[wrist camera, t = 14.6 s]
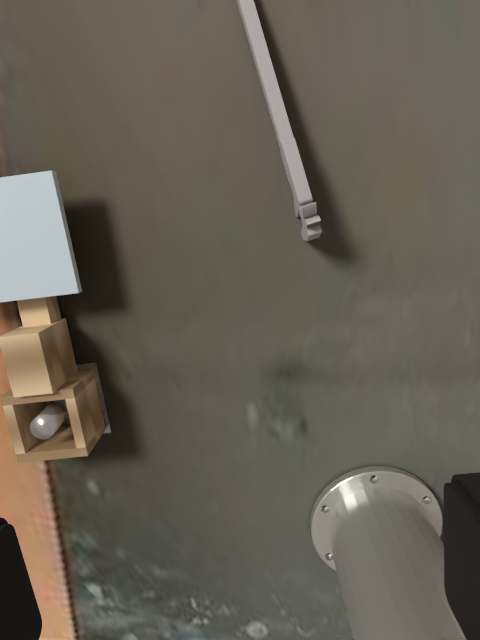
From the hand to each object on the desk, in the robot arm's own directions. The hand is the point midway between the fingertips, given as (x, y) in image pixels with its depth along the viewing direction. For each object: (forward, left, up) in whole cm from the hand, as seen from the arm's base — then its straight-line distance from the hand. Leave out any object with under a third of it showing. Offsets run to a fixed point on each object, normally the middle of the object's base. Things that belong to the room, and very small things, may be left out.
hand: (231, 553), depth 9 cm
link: (-2, +17, -28) cm, 33 cm away
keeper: (+7, +18, -28) cm, 34 cm away
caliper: (+14, -4, -29) cm, 32 cm away
